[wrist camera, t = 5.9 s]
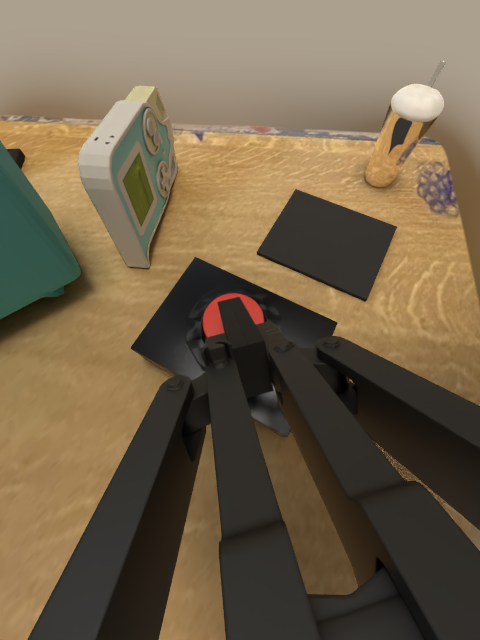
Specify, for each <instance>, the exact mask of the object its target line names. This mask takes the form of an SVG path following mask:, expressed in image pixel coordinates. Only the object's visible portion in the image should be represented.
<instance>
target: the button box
mask: <svg viewBox="0 0 480 640" xmlns="http://www.w3.org/2000/svg"><path fill="white" fill-rule="evenodd" d="M230 293H238V294H243V295H246V296H248V297H250V298H251V299H253V300H254V301H255V302H256V303H257V304H258V305H259V306H260V308H261V310H262V312H263V315H264V322H268V321H270V322H272V323H275V324H276V325H277V327H278V329H280V331H281V332H282V334H283V335H284V336H285V338H286V339H287V340H289V341H293V342H295V343H296V344H297V345H298V346H299V348H316V342H317V341H318V340H319V339H321V338H323V337H326V336H332V335H333V332H334V330H335V328H336V325H337V322H335V321H333V320H331V319H329V318H326V317H324V316H322V315H320V314H318V313H316V312H313V311H311V310H309V309H307V308H305V307H303V306H300V305H298V304H296V303H294V302H292V301H290V300H287V299H285V298H283V297H281V296H279V295H277V294H274V293H272V292H270V291H268V290H266V289H264V288H261V287H259V286H257V285H255V284H253V283H251V282H248V281H246V280H244V279H242V278H240V277H238V276H235V275H233V274H231V273H229V272H227V271H225V270H222V269H220V268H218V267H216V266H214V265H212V264H209V263H207V262H205V261H203V260H201V259H199V258H196V257H195V258H194V260H193V261H192V262H191V264H190V265H189V267H188V268H187V269H186V271H185V272H184V274H183V275H182V276H181V278H180V279H179V281H178V282H177V283H176V285H175V286H174V288H173V289H172V290H171V292H170V293H169V295H168V296H167V297H166V299H165V300H164V302H163V303H162V304H161V306H160V307H159V309H158V310H157V311H156V313H155V314H154V316H153V317H152V319H151V320H150V321H149V323H148V324H147V326H146V327H145V328H144V330H143V331H142V333H141V334H140V335H139V337H138V338H137V340H136V341H135V342H134V344H133V345H132V347H131V349H132V350H133V351H135V352H136V353H138V354H139V355H141V356H142V357H143V358H145V359H147V360H149V361H150V362H152V363H154V364H156V365H157V366H159V367H161V368H163V369H164V370H166V371H168V372H170V373H171V374H173V375H175V376H187V377H189V378H190V379H191V380H193V379H195V378H197V377H199V376H200V375H202V374H203V373H204V372H205V371H206V367H205V364H204V360H203V357H202V354H201V350H202V348H203V347H204V346H205V341H206V340H207V337H206V335H205V333H204V330H203V315H204V312H205V310H206V308H207V307H208V306H209V304H210V303H211V302H212V301H213V300H215V299H216V298H218V297H220V296H222V295H225V294H230ZM272 385H273V384H272ZM246 399H247V402H248V406H249V409H250V412H251V416H252V419H253V421H255V422H257V423H259V424H260V425H262V426H264V427H266V428H267V429H269V430H271V431H273V432H274V433H276V434H278V435H280V436H282V437H288V434H289V432H290V430H291V429H290V427H289V425H288V422H287V420H286V418H285V416H284V413H283V411H282V409H281V410H280V411H279V410H278V404H277V398H276V393H275V388H274V386H273V391H272V392H268V393H264V394H261V395H257V396H253V397H249V398H246Z"/></svg>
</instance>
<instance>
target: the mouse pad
mask: <svg viewBox="0 0 480 640" xmlns="http://www.w3.org/2000/svg"><path fill="white" fill-rule="evenodd" d="M396 228H397V227H396V226H393V225H391V224H388V223H385V222H383V221H380V220H377V219H375V218H372V217H369V216H367V215H364V214H361V213H358V212H356V211H353V210H350V209H348V208H345V207H342V206H340V205H337V204H334V203H332V202H329V201H326V200H323V199H321V198H318V197H315V196H313V195H310V194H307V193H305V192H302V191H299V190H297V189H296V190H295V191H294V193H293V195H292V196H291V198H290V199H289V201H288V203H287V204H286V206H285V208H284V209H283V211H282V212H281V214H280V216H279V217H278V219H277V220H276V222H275V224H274V225H273V227H272V229H271V230H270V232H269V233H268V235H267V237H266V238H265V240H264V241H263V243H262V245H261V246H260V248H259V250H258V251H257V254H258V255H260V256H263V257H265V258H267V259H270V260H272V261H274V262H276V263H279V264H281V265H283V266H286V267H288V268H290V269H293V270H295V271H297V272H299V273H302V274H304V275H306V276H309V277H311V278H313V279H316V280H318V281H320V282H322V283H325V284H327V285H329V286H332V287H334V288H336V289H338V290H341V291H343V292H345V293H348V294H350V295H352V296H355V297H357V298H359V299H361V300H364V301H366V300H367V298H368V296H369V293H370V291H371V289H372V286H373V284H374V281H375V279H376V276H377V274H378V272H379V269H380V267H381V264H382V262H383V259H384V257H385V255H386V252H387V250H388V247H389V245H390V242H391V240H392V238H393V235H394V233H395V230H396Z"/></svg>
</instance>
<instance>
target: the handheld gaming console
mask: <svg viewBox="0 0 480 640" xmlns="http://www.w3.org/2000/svg"><path fill="white" fill-rule="evenodd" d="M173 145H174V137H173V132H172V126H171V122H170V119H169V118H168V117H167V114H166V111H165V108H164V105H163V103H162V99H161V97H160V94H159V92H158V90H157V88H156V87H153V86H152V87H151V86H136V87H135V88H134V89H133V90H132V91H131V93H130V94H129V95H128V97H127V98H126V99H125V101H118V102H117V103H116V104H115V105H114V106H113V107H112V109H111V110H110V111H109V112H108V114H107V115H106V117H105V118H104V119H103V120H102V122H101V123H100V124H99V125H98V127H97V128H96V129H95V131H94V132H93V133H92V134H91V136H90V137H89V138H88V139H87V141H86V142H85V143H84V144H83V146H82V147H81V150H80V152H79V158H78V167H79V173H80V178H81V180H82V183H83V185H84V188H85V190H86V191H87V193H88V195H89V197H90V199H91V201H92V203H93V204H94V206H95V208H96V210H97V212H98V214H99V215H100V217H101V219H102V221H103V223H104V225H105V226H106V228H107V230H108V232H109V234H110V236H111V238H112V239H113V241H114V243H115V245H116V247H117V249H118V250H119V252H120V254H121V256H122V258H123V260H124V261H125V263H126V265H127V266H131V267H141V268H149V267H150V262H149V247H150V243H151V241H152V238H153V236H154V233H155V231H156V229H157V226H158V224H159V221H160V219H161V216H162V214H163V212H164V209H165V207H166V204H167V202H168V199H169V193H170V189H171V186H172V184H173V181H174V179H175V177H176V174H177V172H178V166H177V161H176V156H175V151H174V146H173Z"/></svg>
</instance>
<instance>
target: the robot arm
mask: <svg viewBox="0 0 480 640" xmlns="http://www.w3.org/2000/svg"><path fill="white" fill-rule="evenodd" d="M217 303H218V307H219V311H220V315H221V320H222V324H223V328H224V332H225V333H222V334H218V335H214V336H210V337H208V338H207V340H206V341H205V346H204V347H203V348H202V350H201V354H202V357H203V360H204V364H205V367H206V371H205V372H204V373H203V374H202V375H200V376H199V377H197V378H195V379H193V380H191V379H190V378H189V377H187V376H175V377H172V378H170V379H168V380H167V381H165V382H164V383H163V384H162V385H161V387H160V388H159V390H158V392H157V394H156V396H155V398H154V400H153V401H152V403H151V405H150V407H149V409H148V411H147V413H146V415H145V417H144V419H143V421H142V422H141V424H140V426H139V428H138V430H137V432H136V434H135V436H134V438H133V440H132V441H131V443H130V445H129V447H128V449H127V451H126V453H125V455H124V457H123V459H122V461H121V462H120V464H119V466H118V468H117V470H116V472H115V474H114V476H113V478H112V480H111V481H110V483H109V485H108V487H107V489H106V491H105V493H104V495H103V497H102V499H101V501H100V502H99V504H98V506H97V508H96V510H95V512H94V514H93V516H92V518H91V520H90V521H89V523H88V525H87V527H86V529H85V531H84V533H83V535H82V537H81V539H80V541H79V542H78V544H77V546H76V548H75V550H74V552H73V554H72V556H71V558H70V560H69V561H68V563H67V565H66V567H65V569H64V571H63V573H62V575H61V577H60V579H59V581H58V582H57V584H56V586H55V588H54V590H53V592H52V594H51V596H50V598H49V600H48V601H47V603H46V605H45V607H44V609H43V611H42V613H41V615H40V617H39V619H38V621H37V622H36V624H35V626H34V628H33V630H32V632H31V634H30V636H29V638H28V640H158V639H159V635H160V630H161V626H162V622H163V617H164V613H165V609H166V604H167V600H168V596H169V591H170V587H171V583H172V578H173V574H174V569H175V565H176V561H177V556H178V552H179V548H180V543H181V539H182V535H183V530H184V526H185V521H186V517H187V513H188V508H189V504H190V500H191V495H192V491H193V487H194V482H195V478H196V473H197V469H198V465H199V460H200V456H201V452H202V447H203V443H204V439H205V434H206V426H207V425H209V424H210V423H211V429H212V439H213V449H214V459H215V470H216V480H217V490H218V501H219V511H220V521H221V532H222V540H221V541H220V542H219V561H220V573H221V585H222V597H223V609H224V621H225V633H226V640H480V551H479V550H478V549H477V547H476V546H475V545H474V544H473V543H472V542H471V540H470V539H469V538H468V537H467V536H466V534H465V533H464V532H463V531H462V530H461V529H460V527H459V526H458V525H457V524H456V523H455V521H454V520H453V519H452V518H451V517H450V516H449V514H448V513H447V512H446V511H445V510H444V508H443V507H442V506H441V505H440V504H439V503H438V501H437V500H436V499H435V498H434V497H433V495H432V494H431V493H430V492H429V491H428V490H427V489H426V488H425V487H424V486H423V485H421V484H420V483H418V482H416V481H409V482H407V481H406V480H404V479H403V478H402V477H401V476H400V475H399V473H398V472H397V471H396V470H395V468H394V467H393V466H392V465H391V463H390V462H389V461H388V459H387V458H386V457H385V456H384V454H383V453H382V452H381V451H380V449H379V448H378V447H377V445H376V444H375V443H374V442H373V441H375V442H376V443H377V444H378V445H379V446H381V447H382V448H383V449H384V450H385V451H386V452H388V453H389V454H390V455H391V456H392V457H394V458H395V459H396V460H397V461H398V462H400V463H401V464H402V465H403V466H404V467H405V468H407V469H408V470H409V471H410V472H411V473H413V474H414V475H415V476H416V477H417V478H419V479H420V480H421V481H422V482H423V483H424V484H426V485H427V486H428V487H429V488H430V489H432V490H433V491H434V492H435V493H436V494H437V495H439V496H440V497H441V498H442V499H443V500H445V501H446V502H447V503H448V504H449V505H451V506H452V507H453V508H454V509H455V510H456V511H458V512H459V513H460V514H461V515H462V516H464V517H465V518H466V519H467V520H468V521H470V522H471V523H472V524H473V525H474V526H475V527H477V528H478V529H479V530H480V406H478V405H476V404H474V403H472V402H470V401H468V400H466V399H464V398H462V397H460V396H458V395H456V394H454V393H452V392H450V391H448V390H446V389H444V388H442V387H440V386H438V385H436V384H434V383H432V382H430V381H428V380H426V379H424V378H422V377H420V376H418V375H416V374H414V373H412V372H410V371H408V370H406V369H404V368H402V367H400V366H398V365H396V364H394V363H392V362H390V361H388V360H386V359H384V358H382V357H380V356H378V355H376V354H374V353H372V352H370V351H368V350H366V349H364V348H362V347H360V346H358V345H356V344H354V343H352V342H350V341H348V340H346V339H344V338H341V337H337V336H326V337H323V338H321V339H319V340H318V341H317V342H316V348H299V346H298V345H297V344H296V343H295V342H293V341H289V340H287V339H286V338H285V336H284V335H283V334H282V332H281V331H280V329H278V327H277V325H276V324H275V323H272V322H270V321H268V322H263V323H259V324H255V323H254V321H253V319H252V317H251V316H250V314H249V312H248V310H247V309H246V307H245V305H244V303H243V302H242V300H241V298H240V297H235V298H231V299H227V300H223V301H219V302H217ZM349 378H350V379H351V380H352V381H353V382H354V384H353V383H352V382H350V381H349ZM272 384H273V385H272ZM273 386H274V388H275V393H276V398H277V404H278V410H279V411H280V410H281V409H282V411H283V413H284V416H285V418H286V420H287V422H288V425H289V427H290V429H291V431H292V433H293V436H294V438H295V440H296V442H297V444H298V447H299V449H300V451H301V453H302V456H303V458H304V460H305V462H306V464H307V467H308V469H309V471H310V473H311V475H312V478H313V480H314V482H315V484H316V486H317V489H318V491H319V493H320V495H321V498H322V500H323V502H324V504H325V506H326V509H327V511H328V513H329V515H330V517H331V520H332V522H333V524H334V526H335V529H336V531H337V533H338V535H339V537H340V540H341V542H342V544H343V546H344V548H345V551H346V553H347V555H348V557H349V560H350V562H351V565H352V567H353V570H354V574H355V577H356V581H357V584H358V587H359V588H358V589H357V590H356V591H354V592H353V593H352V594H349V595H318V594H307V593H306V590H305V586H304V583H303V580H302V576H301V573H300V570H299V567H298V563H297V560H296V557H295V553H294V550H293V547H292V544H291V540H290V537H289V534H288V531H287V528H286V525H285V522H284V521H283V519H282V516H281V512H280V509H279V506H278V502H277V499H276V496H275V492H274V489H273V486H272V482H271V479H270V476H269V472H268V469H267V466H266V462H265V459H264V456H263V452H262V449H261V446H260V442H259V439H258V436H257V432H256V429H255V426H254V422H253V419H252V416H251V412H250V409H249V406H248V402H247V399H246V398H249V397H253V396H257V395H261V394H264V393H268V392H272V391H273Z"/></svg>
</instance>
